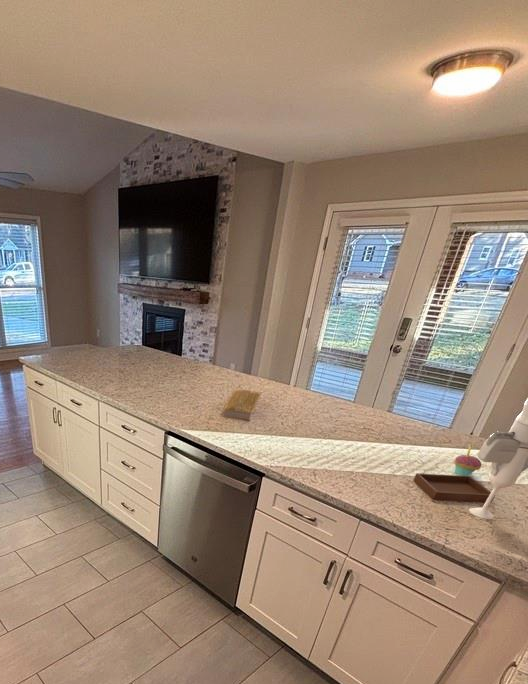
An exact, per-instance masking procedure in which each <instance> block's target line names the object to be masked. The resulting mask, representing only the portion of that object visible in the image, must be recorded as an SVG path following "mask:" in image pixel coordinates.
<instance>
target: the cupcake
mask: <svg viewBox="0 0 528 684" xmlns="http://www.w3.org/2000/svg"><path fill="white" fill-rule="evenodd" d="M471 450H472V444H470V445H469V446H468V450H467V453H466V454H460V455H458V456H456V457H455V459H454V460H453V464H455V467H454V473H455V474H457V475H458V476H471V475H472V474H473V473H474V472H475V471H479V470H481V467H482V461H481V460H480V459H479V458H478V457H477V456H474V455H470V453H471Z"/></svg>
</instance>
